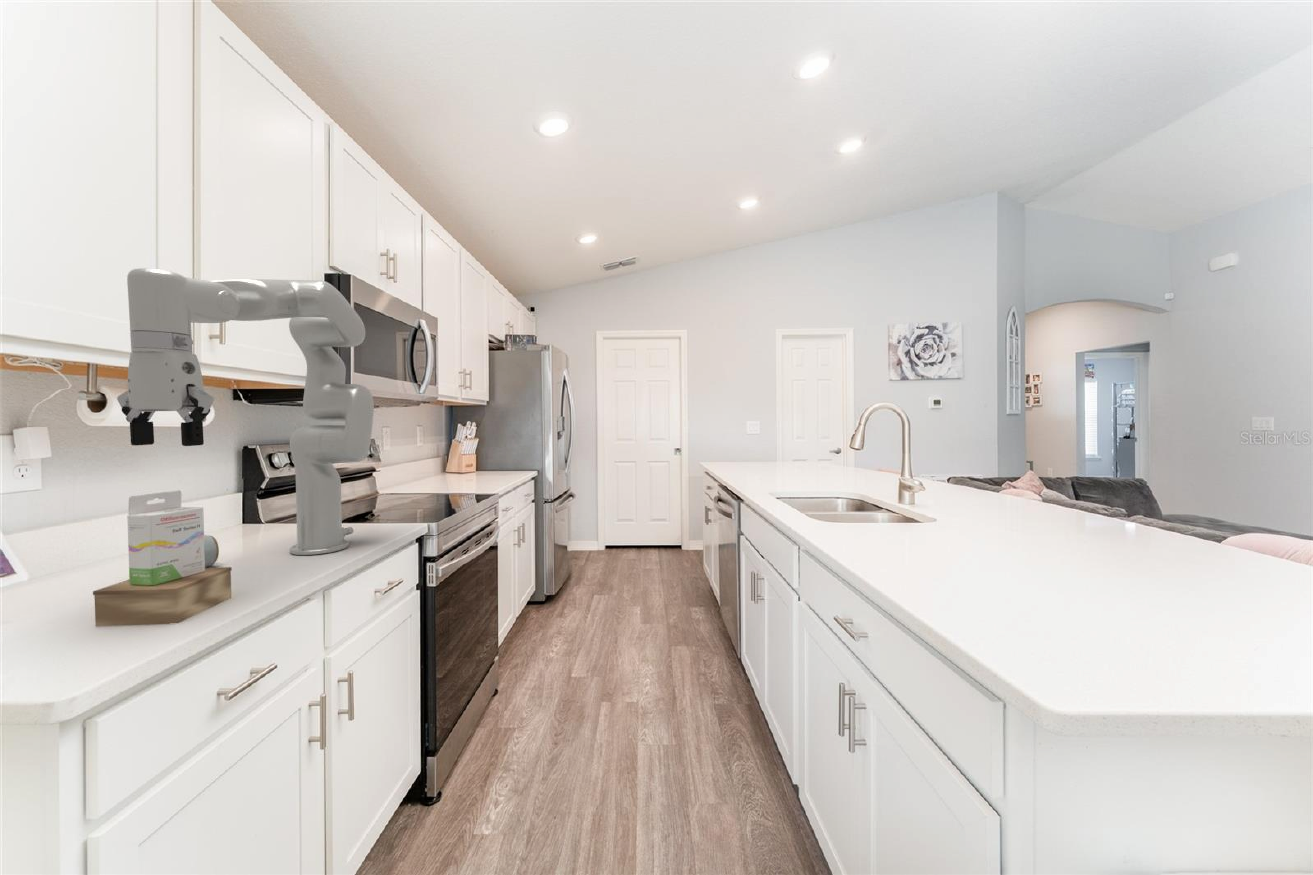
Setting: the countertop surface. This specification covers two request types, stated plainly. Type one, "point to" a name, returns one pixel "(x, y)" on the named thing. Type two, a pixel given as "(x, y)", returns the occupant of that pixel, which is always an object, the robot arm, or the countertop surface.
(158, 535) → the ink box
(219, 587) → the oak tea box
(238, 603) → the countertop surface
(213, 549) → the ceramic mug
